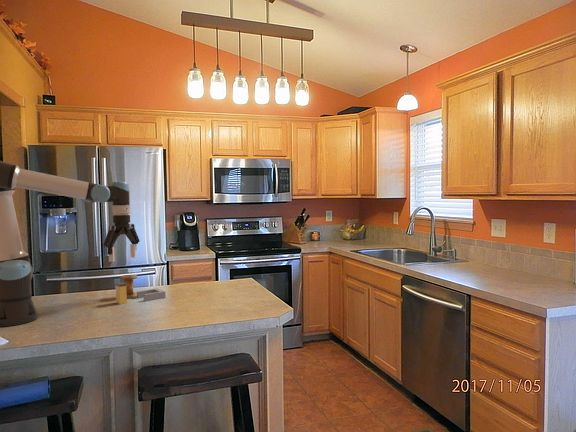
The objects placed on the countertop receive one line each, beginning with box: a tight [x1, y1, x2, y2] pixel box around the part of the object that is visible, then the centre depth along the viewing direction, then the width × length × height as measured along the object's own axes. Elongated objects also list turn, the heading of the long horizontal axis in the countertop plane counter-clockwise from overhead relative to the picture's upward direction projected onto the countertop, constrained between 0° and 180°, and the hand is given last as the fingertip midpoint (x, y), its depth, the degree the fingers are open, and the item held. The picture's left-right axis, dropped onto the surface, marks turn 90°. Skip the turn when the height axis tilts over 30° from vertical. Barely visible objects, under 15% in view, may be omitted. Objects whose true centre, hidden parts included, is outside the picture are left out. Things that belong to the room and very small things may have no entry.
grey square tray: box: [136, 287, 167, 302], centre depth 200 cm, size 10×10×3 cm
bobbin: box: [119, 274, 138, 299], centre depth 203 cm, size 9×9×10 cm
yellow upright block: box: [115, 281, 128, 305], centre depth 191 cm, size 3×5×9 cm, turn 41°
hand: (122, 259), depth 197 cm, fingers open, 13 cm apart
